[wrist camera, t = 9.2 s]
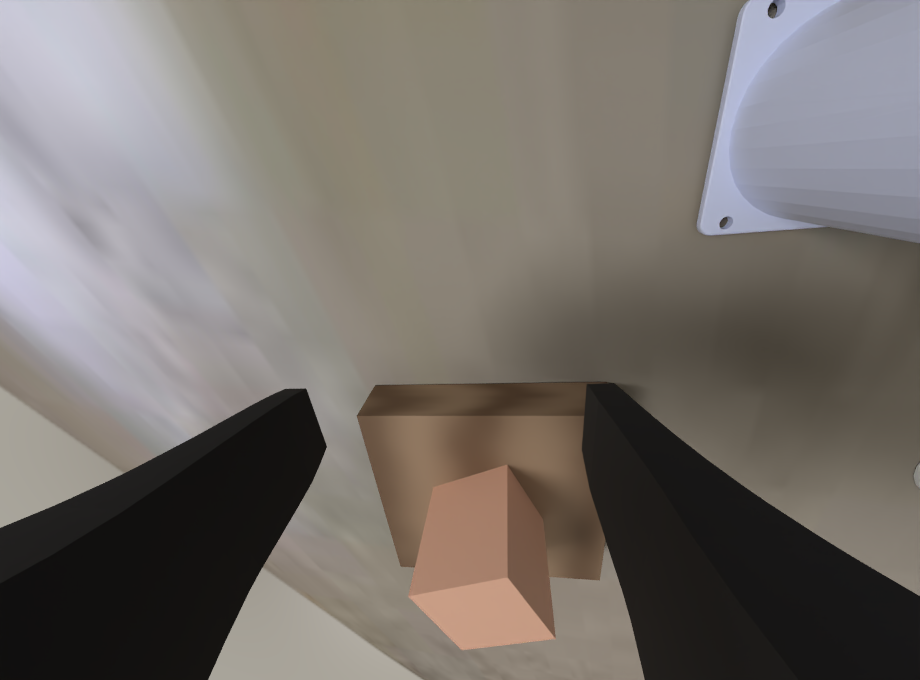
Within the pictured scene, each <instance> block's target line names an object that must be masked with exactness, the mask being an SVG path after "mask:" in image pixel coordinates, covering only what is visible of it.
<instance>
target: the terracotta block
mask: <svg viewBox="0 0 920 680" xmlns="http://www.w3.org/2000/svg"><path fill="white" fill-rule="evenodd" d="M409 597H410V599H411V600H412V601H413V602H414V603H415V604H416V605H417V606H418V607H419V608H420V609H421V610H422V611H423V612H424V613H425V614H426V615H427V616H428V617H429V618H430V619H431V620H432V621H433V622H434V623H435V624H436V625H437V626H438V627H439V628H440V629H441V630H442V631H443V632H444V633H445V634H446V635H447V636H448V637H449V638H450V639H451V640H452V641H453V642H454V643H455V644H456V645H457V646H458V647H459V648H460V649H461V650H467V649H476V648H484V647H492V646H501V645H509V644H517V643H525V642H534V641H542V640H550V639H556V637H555V628H554V618H553V609H552V599H551V590H550V580H549V570H548V561H547V551H546V542H545V532H544V523H543V518H542V517H541V515H540V514H539V512H538V511H537V509H536V508H535V506H534V505H533V503H532V502H531V500H530V499H529V497H528V496H527V494H526V493H525V491H524V489H523V488H522V486H521V485H520V483H519V482H518V480H517V479H516V477H515V476H514V474H513V473H512V471H511V470H510V468H509V467H508V465H504V466H501V467H498V468H494V469H491V470H488V471H485V472H481V473H478V474H475V475H472V476H468V477H465V478H462V479H458V480H455V481H452V482H449V483H445V484H442V485H439V486H436V487H433V491H432V495H431V499H430V504H429V508H428V513H427V517H426V521H425V526H424V530H423V534H422V539H421V543H420V548H419V552H418V556H417V561H416V565H415V569H414V574H413V578H412V583H411V587H410V591H409Z"/></svg>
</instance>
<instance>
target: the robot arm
mask: <svg viewBox="0 0 920 680" xmlns="http://www.w3.org/2000/svg"><path fill="white" fill-rule="evenodd" d="M771 3H775V4H776V6H777V13H776V15H775V17H774V18H770V17H769V16H768V8H769V5H770V4H771ZM724 217H727V218H728V222H727V224H726V225H725V226H723V227H721V228H720V227H719V223H720V221H721V220H722V219H723V218H724ZM819 227H833V228H838V229H843V230H849V231H854V232H860V233H865V234H871V235H876V236H881V237H887V238H892V239H898V240H903V241H909V242H914V243H919V244H920V0H749V1H747V2H746V3H745V4H744V6H743V7H742V8H741V10H740V12H739V15H738V18H737V23H736V28H735V33H734V39H733V44H732V49H731V54H730V59H729V64H728V69H727V74H726V79H725V84H724V89H723V94H722V99H721V104H720V109H719V114H718V119H717V124H716V129H715V134H714V139H713V144H712V149H711V154H710V160H709V165H708V170H707V175H706V180H705V185H704V190H703V195H702V200H701V205H700V210H699V215H698V220H697V229H698V231H699V232H700V233H702V234H704V235H710V236H711V235H724V234H738V233H751V232H765V231H778V230H792V229H805V228H819ZM326 448H327V446H326V443H325V440H324V437H323V434H322V432H321V429H320V426H319V423H318V420H317V418H316V415H315V412H314V409H313V406H312V404H311V401H310V398H309V395H308V392H307V390H306V389H284V390H282V391H280V392H277V393H275V394H273V395H271V396H269V397H267V398H265V399H263V400H261V401H259V402H257V403H255V404H253V405H252V406H250V407H248V408H246V409H244V410H242V411H241V412H239V413H237V414H235V415H233V416H231V417H230V418H228V419H226V420H224V421H222V422H221V423H219V424H217V425H215V426H213V427H212V428H210V429H208V430H206V431H204V432H203V433H201V434H199V435H197V436H195V437H193V438H192V439H190V440H188V441H186V442H184V443H182V444H180V445H178V446H176V447H174V448H173V449H171V450H169V451H167V452H165V453H163V454H161V455H159V456H157V457H155V458H153V459H152V460H150V461H148V462H146V463H144V464H142V465H140V466H138V467H136V468H134V469H132V470H130V471H128V472H126V473H124V474H122V475H120V476H118V477H116V478H114V479H112V480H110V481H108V482H105V483H103V484H101V485H99V486H97V487H95V488H92V489H90V490H88V491H86V492H84V493H81V494H79V495H77V496H75V497H73V498H71V499H68V500H66V501H64V502H62V503H59V504H57V505H55V506H52V507H50V508H48V509H45V510H43V511H40V512H38V513H36V514H33V515H31V516H28V517H26V518H24V519H21V520H19V521H16V522H14V523H11V524H9V525H6V526H4V527H2V528H0V680H208V678H209V676H210V674H211V672H212V669H213V667H214V665H215V663H216V661H217V658H218V656H219V654H220V652H221V650H222V647H223V645H224V643H225V641H226V639H227V636H228V634H229V632H230V630H231V628H232V626H233V624H234V622H235V620H236V618H237V616H238V614H239V611H240V609H241V607H242V605H243V603H244V601H245V599H246V597H247V595H248V593H249V591H250V589H251V587H252V585H253V583H254V582H255V580H256V578H257V576H258V574H259V572H260V571H261V569H262V567H263V565H264V564H265V562H266V560H267V559H268V557H269V555H270V554H271V552H272V550H273V548H274V547H275V545H276V543H277V542H278V540H279V538H280V537H281V535H282V533H283V531H284V530H285V528H286V526H287V525H288V523H289V521H290V520H291V518H292V516H293V515H294V513H295V511H296V509H297V508H298V506H299V504H300V502H301V501H302V499H303V497H304V496H305V494H306V492H307V490H308V488H309V487H310V485H311V483H312V481H313V479H314V477H315V474H316V472H317V470H318V468H319V465H320V463H321V460H322V458H323V455H324V453H325V450H326ZM582 454H583V459H584V464H585V469H586V474H587V479H588V484H589V489H590V492H591V495H592V499H593V502H594V505H595V508H596V511H597V514H598V518H599V521H600V524H601V527H602V530H603V533H604V536H605V539H606V542H607V545H608V548H609V551H610V555H611V558H612V561H613V564H614V567H615V570H616V573H617V576H618V579H619V582H620V585H621V588H622V592H623V595H624V598H625V602H626V605H627V609H628V612H629V616H630V619H631V623H632V627H633V631H634V636H635V640H636V644H637V648H638V652H639V657H640V661H641V665H642V669H643V674H644V678H645V680H920V596H918V595H917V594H915V593H913V592H912V591H910V590H908V589H906V588H905V587H903V586H901V585H900V584H898V583H896V582H894V581H893V580H891V579H889V578H888V577H886V576H884V575H882V574H881V573H879V572H877V571H876V570H874V569H872V568H871V567H869V566H867V565H865V564H864V563H862V562H860V561H859V560H857V559H855V558H854V557H852V556H850V555H849V554H847V553H845V552H844V551H842V550H841V549H839V548H837V547H836V546H834V545H832V544H831V543H829V542H827V541H826V540H824V539H823V538H821V537H819V536H818V535H816V534H815V533H813V532H812V531H810V530H809V529H807V528H806V527H804V526H802V525H801V524H799V523H798V522H796V521H795V520H793V519H792V518H790V517H789V516H787V515H786V514H784V513H782V512H781V511H779V510H778V509H776V508H775V507H773V506H772V505H770V504H769V503H767V502H766V501H764V500H763V499H761V498H760V497H758V496H757V495H755V494H754V493H752V492H751V491H750V490H748V489H747V488H745V487H744V486H742V485H741V484H740V483H738V482H737V481H736V480H734V479H733V478H731V477H730V476H729V475H727V474H726V473H725V472H723V471H722V470H720V469H719V468H718V467H716V466H715V465H714V464H712V463H711V462H709V461H708V460H707V459H705V458H704V457H703V456H702V455H700V454H699V453H698V452H696V451H695V450H694V449H692V448H691V447H690V446H689V445H687V444H686V443H685V442H684V441H682V440H681V439H680V438H679V437H677V436H676V435H675V434H674V433H672V432H671V431H670V430H669V429H667V428H666V427H665V426H664V425H663V424H661V423H660V422H659V421H658V420H657V419H655V418H654V417H653V416H652V415H651V414H649V413H648V412H647V411H646V410H645V409H644V408H642V407H641V406H640V405H639V404H638V403H637V402H635V401H634V400H633V399H632V398H631V397H630V396H629V395H627V394H626V393H625V392H624V391H623V390H621V389H620V388H619V387H618V386H617V385H615V384H614V383H603V384H587V386H586V399H585V412H584V425H583V438H582Z"/></svg>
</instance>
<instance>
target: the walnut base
mask: <svg viewBox="0 0 920 680" xmlns="http://www.w3.org/2000/svg"><path fill="white" fill-rule="evenodd" d="M603 383H607V382H574V383H507V384H440V385H375V387H374V388H373V390H372V392H371V393H370V395H369V397H368V398H367V400H366V402H365V403H364V405H363V407H362V408H361V410H360V412H359V413H358V415H357V418H358V422H359V425H360V428H361V432H362V435H363V439H364V442H365V446H366V449H367V452H368V456H369V459H370V463H371V466H372V470H373V473H374V476H375V480H376V483H377V487H378V490H379V494H380V497H381V500H382V504H383V507H384V511H385V514H386V518H387V521H388V524H389V528H390V531H391V535H392V538H393V542H394V545H395V548H396V552H397V555H398V559H399V562H400V565H401V566H402V567H415V565H416V561H417V556H418V552H419V548H420V543H421V539H422V534H423V530H424V526H425V521H426V517H427V513H428V508H429V504H430V499H431V495H432V491H433V487H436V486H439V485H442V484H445V483H449V482H452V481H455V480H458V479H462V478H465V477H468V476H472V475H475V474H478V473H481V472H485V471H488V470H491V469H494V468H498V467H501V466H504V465H508V467H509V468H510V470H511V471H512V473H513V474H514V476H515V477H516V479H517V480H518V482H519V483H520V485H521V486H522V488H523V489H524V491H525V493H526V494H527V496H528V497H529V499H530V500H531V502H532V503H533V505H534V506H535V508H536V509H537V511H538V512H539V514H540V515H541V517H542V518H543V523H544V532H545V542H546V551H547V561H548V570H549V577H560V578H574V579H589V580H600V574H601V567H602V560H603V553H604V546H605V536H604V533H603V530H602V527H601V524H600V521H599V518H598V514H597V511H596V508H595V505H594V502H593V499H592V495H591V492H590V489H589V484H588V479H587V474H586V469H585V464H584V459H583V454H582V438H583V425H584V412H585V399H586V386H587V384H603Z"/></svg>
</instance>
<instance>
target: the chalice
mask: <svg viewBox="0 0 920 680" xmlns="http://www.w3.org/2000/svg"><path fill="white" fill-rule="evenodd" d="M913 477H914V480H915V484H916V486H918V487H919V488H920V463H919V464H918V466H917V467H916V470H915V473H914V476H913Z"/></svg>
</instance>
